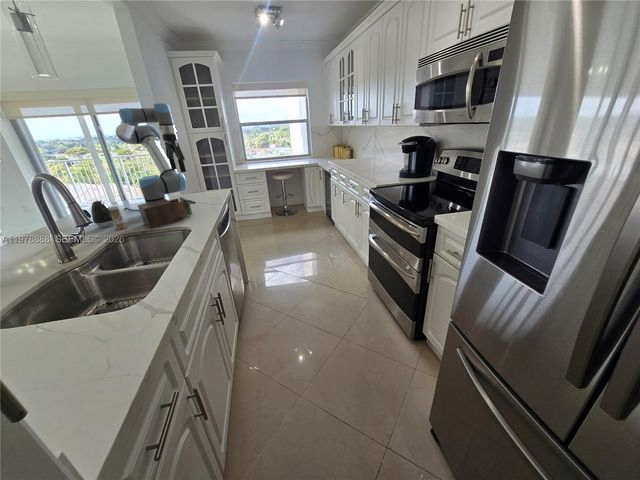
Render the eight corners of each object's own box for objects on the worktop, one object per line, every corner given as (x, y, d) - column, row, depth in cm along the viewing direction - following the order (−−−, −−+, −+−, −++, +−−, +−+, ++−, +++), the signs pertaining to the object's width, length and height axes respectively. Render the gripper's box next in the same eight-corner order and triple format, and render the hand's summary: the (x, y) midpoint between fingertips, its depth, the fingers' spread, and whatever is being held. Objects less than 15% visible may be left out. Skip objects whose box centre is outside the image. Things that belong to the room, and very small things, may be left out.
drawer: (192, 209, 169) (188, 195, 164) (199, 213, 161) (195, 198, 157) (162, 217, 157) (157, 202, 153) (169, 221, 150) (164, 205, 146)
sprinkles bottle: (123, 229, 144) (114, 206, 138) (115, 230, 144) (105, 207, 138) (128, 226, 148) (119, 204, 143) (119, 227, 148) (110, 205, 142)
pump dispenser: (120, 221, 158) (110, 197, 151) (114, 227, 149) (103, 201, 142) (101, 224, 155) (90, 199, 148) (93, 230, 146) (81, 204, 139)
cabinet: (170, 216, 161) (164, 198, 156) (178, 221, 153) (172, 202, 148) (144, 223, 151) (137, 205, 146) (151, 228, 143) (144, 208, 138)
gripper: (153, 133, 153) (164, 169, 162) (170, 134, 138) (181, 174, 148) (167, 132, 158) (176, 167, 167) (184, 133, 143) (194, 172, 153)
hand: (178, 170), depth 158 cm, fingers open, 13 cm apart
